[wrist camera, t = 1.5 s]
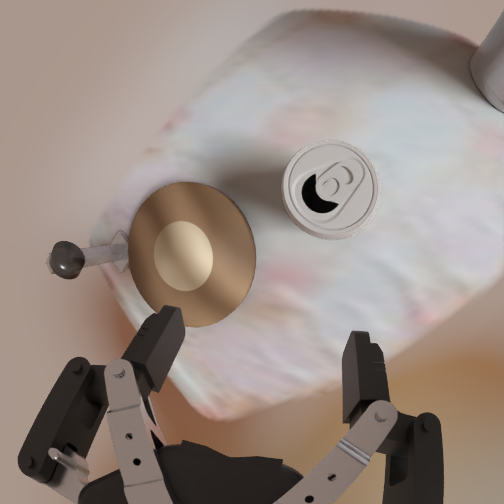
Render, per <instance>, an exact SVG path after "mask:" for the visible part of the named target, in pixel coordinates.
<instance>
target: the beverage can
mask: <svg viewBox="0 0 504 504" xmlns="http://www.w3.org/2000/svg"><path fill="white" fill-rule="evenodd" d="M281 192H282V200H283V204H284V206H285V209H286V211H287V213H288V215H289V216H290V218H291V219H292V220H293V222H294V223H295V224H296V225H297V226H298V227H299V228H301V229H302V230H303V231H305V232H306V233H308V234H310V235H312V236H315V237H317V238H321V239H326V240H339V239H345V238H348V237H351V236H353V235H355V234H357V233H359V232H360V231H362V230H363V229H364V228H365V227H366V226H367V225H368V224H369V223H370V222H371V220H372V219H373V218H374V216H375V214H376V212H377V210H378V207H379V203H380V198H381V185H380V180H379V176H378V173H377V171H376V169H375V167H374V165H373V164H372V162H371V161H370V159H369V158H368V157H367V156H366V155H365V154H364V153H363V152H362V151H360V150H359V149H358V148H356V147H354V146H352V145H350V144H348V143H345V142H342V141H337V140H322V141H317V142H314V143H311V144H309V145H307V146H305V147H304V148H302V149H301V150H299V151H298V152H297V153H296V154H295V155H294V156H293V157H292V158H291V160H290V161H289V163H288V164H287V166H286V168H285V170H284V173H283V177H282V183H281Z"/></svg>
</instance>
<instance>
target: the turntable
mask: <svg viewBox="0 0 504 504" xmlns="http://www.w3.org/2000/svg"><path fill="white" fill-rule="evenodd" d="M128 258H129V265H130V270H131V274H132V277H133V280H134V282H135V284H136V287H137V289H138V290H139V292H140V294H141V296H142V297H143V298H144V300H145V301H146V302H147V304H148V305H149V306H150V307H151V308H152V309H153V310H154V311H155V312H156V313H159V312H160V310H161V309H162V307H163V306H164V305H170V306H175V307H179V308H180V309H181V312H182V317H183V321H184V326H186V327H203V326H208V325H211V324H214V323H217V322H219V321H220V320H222V319H224V318H225V317H227V316H228V315H229V314H230V313H232V312H233V311H234V310H235V309H236V308H237V307H238V306H239V305H240V304H241V303H242V301H243V300H244V298H245V297H246V295H247V293H248V291H249V289H250V287H251V284H252V281H253V278H254V273H255V268H256V248H255V243H254V237H253V234H252V231H251V228H250V226H249V224H248V222H247V220H246V218H245V216H244V214H243V213H242V211H241V210H240V209H239V207H238V206H237V205H236V204H235V203H234V202H233V201H232V200H231V199H230V198H229V197H228V196H227V195H225V194H224V193H222V192H221V191H219V190H217V189H215V188H213V187H210V186H207V185H203V184H199V183H194V182H179V183H174V184H170V185H168V186H165V187H163V188H161V189H159V190H158V191H156V192H155V193H153V194H152V195H151V196H150V197H149V198H148V199H147V200H146V201H145V202H144V203H143V205H142V206H141V207H140V209H139V211H138V212H137V214H136V216H135V218H134V221H133V223H132V227H131V230H130V235H129V242H128Z"/></svg>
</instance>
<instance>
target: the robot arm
mask: <svg viewBox="0 0 504 504" xmlns="http://www.w3.org/2000/svg"><path fill="white" fill-rule="evenodd" d="M470 70H471V74H472V77H473V79H474V81H475V83H476V85H477V87H478V88H479V90H480V91H481V93H482V94H483V95H484V96H485V98H486V99H487V100H488V101H489V102H490V103H491V104H492V105H493V106H494V107H496V108H497V109H498V110H500V111H502V112H503V113H504V10H503V12H502V14H501V15H500V17H499V18H498V20H497V21H496V23H495V25H494V26H493V27H492V29H491V30H490V32H489V33H488V35H487V36H486V38H485V39H484V41H483V42H482V43H481V45H480V46H479V48H478V49H477V51H476V52H475V53H474V55H473V56H472V58H471V60H470ZM184 337H185V326H184V321H183V317H182V312H181V309H180V308H179V307H175V306H170V305H164V306H163V307H162V309H161V310H160V312H159V313H158V314H156V313H153V314H152V315H151V316H149V317H148V318H147V319H146V320H145V321H144V323H143V324H142V326H141V328H140V329H139V330H138V332H137V335H136V336H135V337H134V338H133V340H132V342H131V343H130V345H129V347H128V348H127V350H126V351H125V353H124V355H123V356H122V357H121V359H116V360H114V361H111V362H110V363H109V364H108V365H106V366H104V365H90V363H89V362H88V360H86V359H85V358H83V357H76V358H73V359H71V360H70V361H69V362H68V363H67V365H66V367H65V368H64V370H63V371H62V373H61V375H60V376H59V378H58V380H57V381H56V383H55V385H54V386H53V388H52V390H51V392H50V394H49V395H48V397H47V399H46V401H45V402H44V404H43V406H42V408H41V410H40V412H39V414H38V415H37V417H36V419H35V421H34V423H33V425H32V427H31V429H30V431H29V433H28V435H27V437H26V440H25V442H24V444H23V446H22V448H21V450H20V453H19V455H18V465H19V468H20V469H21V471H22V472H23V473H24V474H25V475H27V476H29V477H30V478H33V479H34V480H36V481H37V482H39V483H41V484H43V485H46V486H48V487H50V488H52V489H53V490H55V491H56V492H58V493H60V494H61V495H63V496H64V497H66V498H67V499H69V500H71V501H73V502H74V503H76V504H333V503H334V502H335V501H336V500H337V499H338V498H339V497H340V496H341V495H342V494H343V493H344V492H345V490H346V489H347V488H348V487H349V486H350V485H351V484H352V483H353V482H354V481H355V479H356V478H357V477H358V476H359V474H360V473H361V472H362V471H363V470H364V469H365V467H366V466H367V465H368V463H369V461H370V458H371V456H372V455H373V454H374V453H375V452H379V453H383V454H386V468H385V483H384V493H383V502H382V504H443V496H444V464H443V446H442V433H441V424H440V421H439V419H438V418H437V417H436V416H435V415H434V414H432V413H422V414H420V415H419V416H418V417H414V416H410V415H406V414H403V413H400V412H398V411H397V410H396V408H395V407H394V406H393V404H391V402H390V398H389V390H388V382H387V375H386V372H385V370H386V369H385V364H384V356H383V352H382V350H381V349H380V347H379V346H378V344H377V343H370V337H369V333H368V332H365V331H352V332H351V334H350V337H349V339H348V342H347V344H346V347H345V349H344V352H343V357H342V382H343V423H350V430H349V432H348V433H347V434H346V435H345V436H344V437H343V438H342V440H341V441H340V442H339V443H338V444H337V445H336V446H335V447H334V448H333V449H332V450H331V451H330V452H329V453H328V455H327V456H326V457H325V458H324V459H323V460H322V461H321V462H320V463H319V464H318V465H317V466H316V467H315V468H313V469H312V470H311V471H310V472H309V473H308V474H307V475H306V476H305V477H303V476H302V474H300V473H299V472H298V471H296V470H295V469H293V468H291V467H289V466H287V465H284V464H282V462H283V459H274V458H267V457H260V456H253V457H228V456H225V455H223V454H221V453H219V452H217V451H214V450H213V449H211V448H209V447H207V446H204V445H200V444H196V443H192V442H189V441H185V440H182V443H181V444H176V445H167V444H166V442H165V439H164V437H163V435H162V434H161V431H160V429H159V427H158V424H157V421H156V417H155V415H154V412H153V408H152V405H151V402H150V399H149V394H150V392H151V390H152V391H155V392H158V393H159V391H160V389H161V387H162V385H163V383H164V381H165V379H166V376H167V374H168V372H169V370H170V368H171V366H172V364H173V362H174V359H175V357H176V355H177V353H178V351H179V349H180V347H181V345H182V343H183V340H184ZM108 406H110V411H109V412H107V420H108V425H109V429H110V434H111V438H112V442H113V446H114V450H115V454H116V458H117V461H118V465H119V468H120V469H118V470H116V471H114V472H111V473H109V474H107V475H105V476H103V477H101V478H99V479H96V480H94V481H92V482H90V483H89V481H88V475H89V473H90V472H89V467H88V463H87V461H86V460H85V459H86V456H87V454H88V452H89V449H90V447H91V444H92V442H93V440H94V437H95V435H96V433H97V430H98V428H99V426H100V424H101V421H102V419H103V417H104V415H105V412H106V410H107V408H108Z"/></svg>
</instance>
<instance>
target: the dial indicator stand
mask: <svg viewBox="0 0 504 504" xmlns="http://www.w3.org/2000/svg"><path fill="white" fill-rule="evenodd" d="M128 242H129V238H128V236H127V235H126V234H125V232H124V231H118V233H117V234H116V236H115V238H114V239H113V241H112V243H111V244H110V245H105V246H97V247H90V248H82V249H80V248H79V247H77V246H76V245H75V244H73V243H71V242H67V241H60V242H58V243H56V244H55V246H54V247H53V250H52V253H49V256H48V259H47V262H46V264H47V266H48V268H49V270H50V272H51V274H57V275H58V276H59V277H62V278H64V279H74V278H76V277H78V275H79V274H80V272H81V270H82V268H84V267H89V266H94V265H99V264H104V263H109V262H113V263H114V264H115V265H116V267H117V268H118V270H119V271H120V273H122V272H126V270H127V269H128V267H129V266H130V265H129V258H128Z"/></svg>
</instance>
